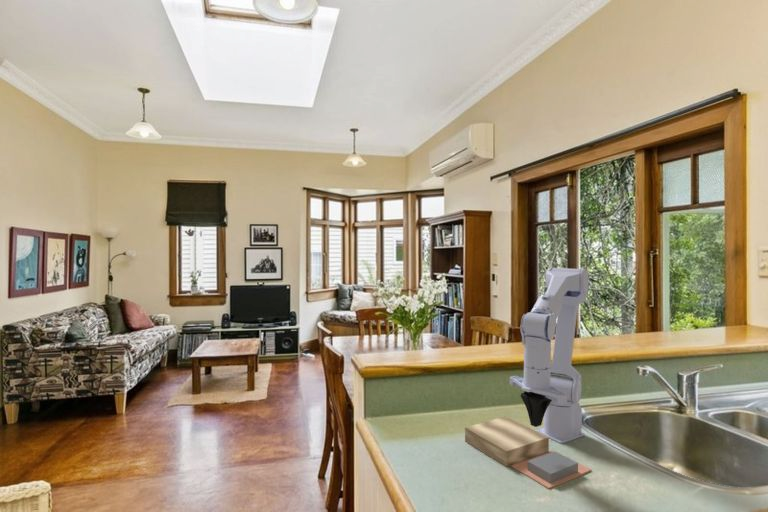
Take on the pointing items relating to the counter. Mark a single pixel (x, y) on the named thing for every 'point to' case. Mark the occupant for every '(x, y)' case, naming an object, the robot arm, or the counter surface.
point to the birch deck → (506, 440)
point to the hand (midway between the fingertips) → (536, 425)
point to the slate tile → (552, 467)
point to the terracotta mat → (524, 469)
